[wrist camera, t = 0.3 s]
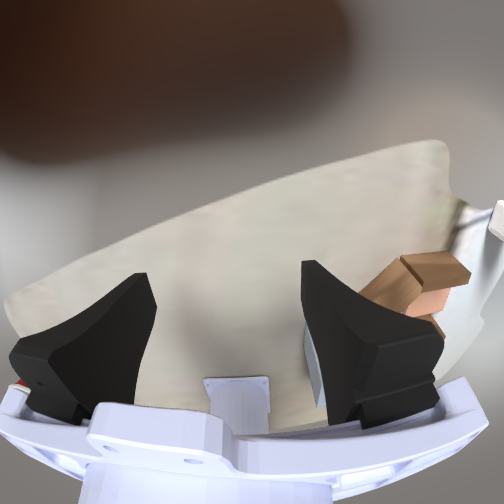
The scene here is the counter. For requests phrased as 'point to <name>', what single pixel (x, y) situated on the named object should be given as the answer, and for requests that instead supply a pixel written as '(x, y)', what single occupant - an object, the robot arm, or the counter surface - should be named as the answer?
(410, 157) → the counter surface
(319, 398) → the slate block
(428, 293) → the coaster
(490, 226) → the pepper shaker
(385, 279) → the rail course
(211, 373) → the counter surface
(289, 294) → the counter surface
